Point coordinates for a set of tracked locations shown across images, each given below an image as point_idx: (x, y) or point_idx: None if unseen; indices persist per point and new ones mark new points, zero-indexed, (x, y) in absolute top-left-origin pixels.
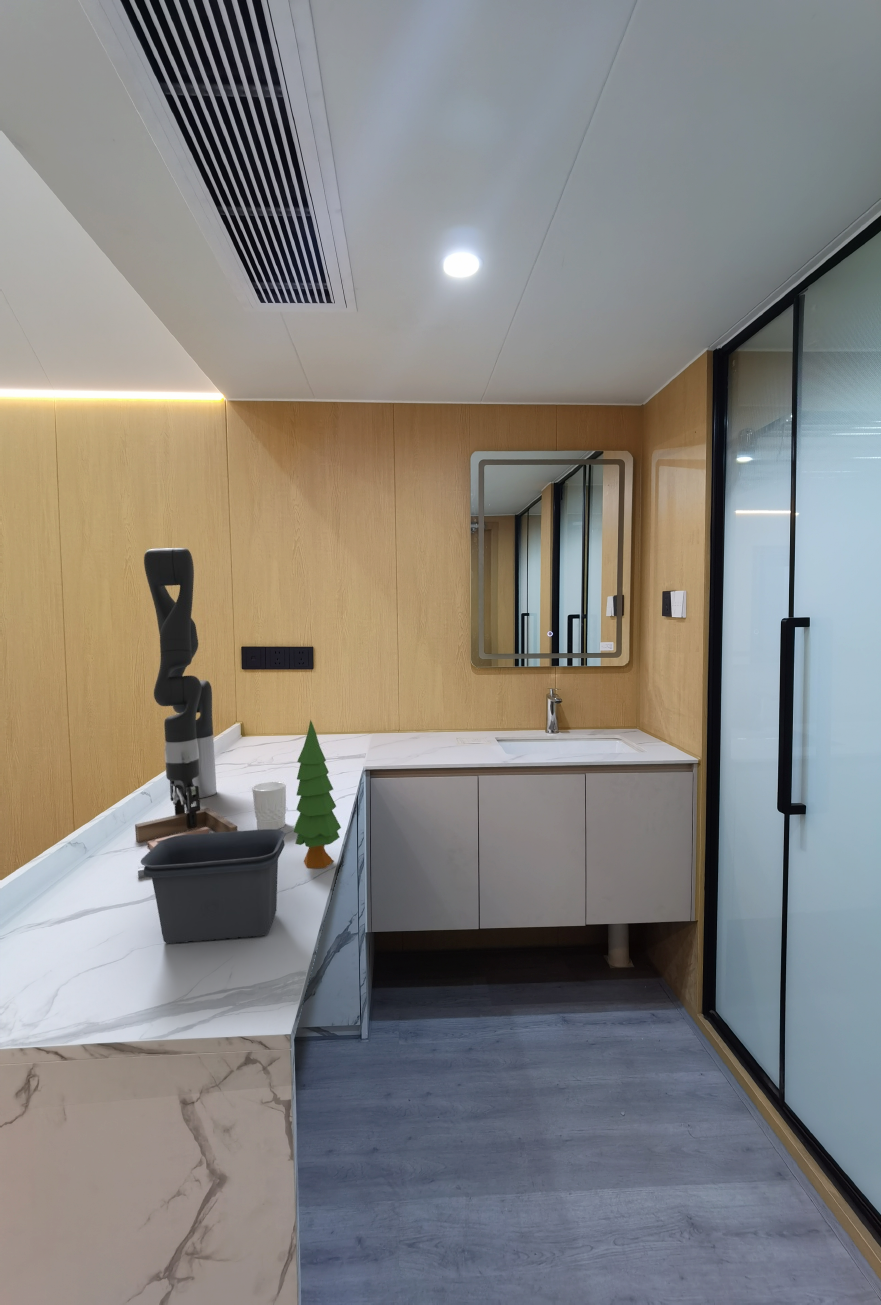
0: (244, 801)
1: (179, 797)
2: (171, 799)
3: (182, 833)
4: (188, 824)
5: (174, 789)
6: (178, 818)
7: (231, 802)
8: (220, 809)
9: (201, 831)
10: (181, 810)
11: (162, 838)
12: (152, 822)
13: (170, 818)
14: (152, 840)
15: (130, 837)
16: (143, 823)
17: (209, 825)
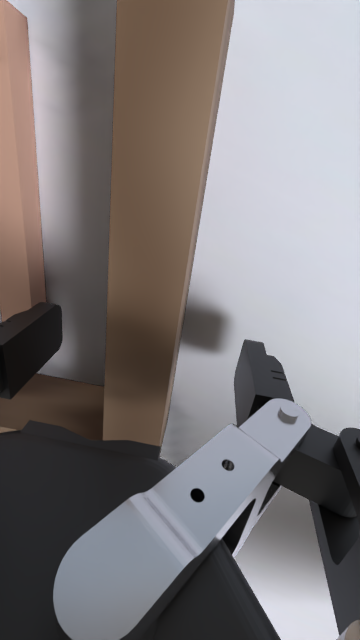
0: (282, 583)
1: (97, 453)
2: (358, 440)
3: (16, 252)
4: (31, 313)
5: (87, 546)
6: (108, 311)
7: (320, 568)
8: (283, 517)
9: None
10: (242, 398)
11: (2, 122)
12: (141, 111)
13: (130, 271)
14: (2, 44)
15: (333, 2)
16: (185, 19)
17: (74, 392)
